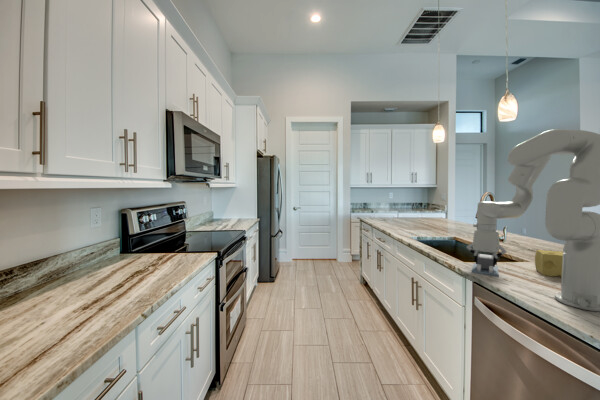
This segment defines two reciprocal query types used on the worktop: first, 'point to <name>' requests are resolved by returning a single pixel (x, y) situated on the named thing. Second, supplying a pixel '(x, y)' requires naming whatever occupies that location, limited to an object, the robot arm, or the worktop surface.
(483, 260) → the block
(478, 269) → the grey piece
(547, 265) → the cheese
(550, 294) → the worktop surface
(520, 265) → the worktop surface
